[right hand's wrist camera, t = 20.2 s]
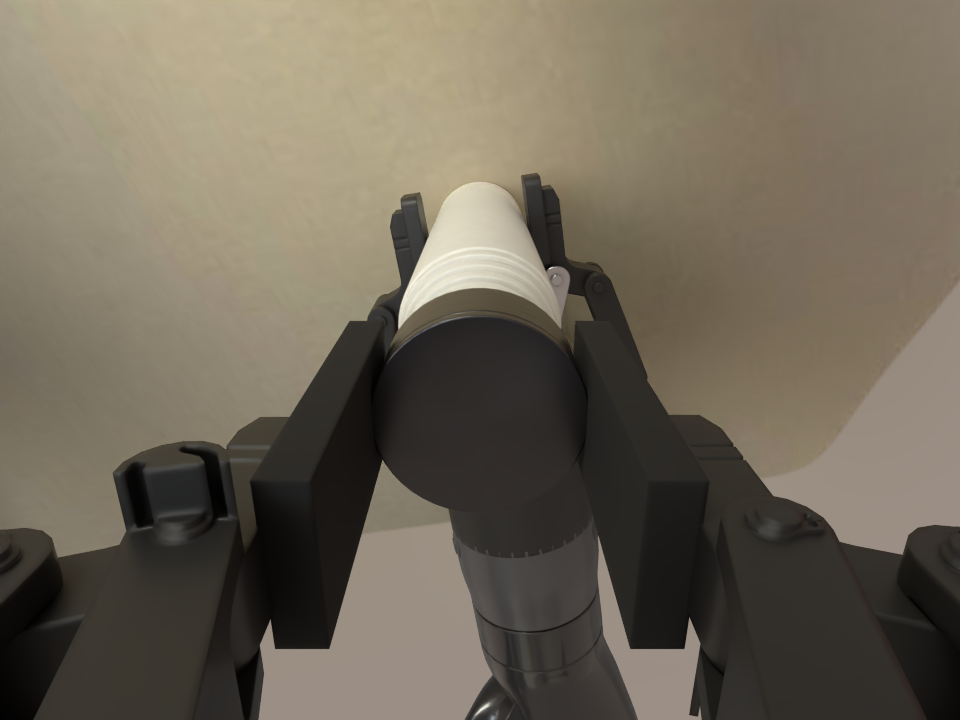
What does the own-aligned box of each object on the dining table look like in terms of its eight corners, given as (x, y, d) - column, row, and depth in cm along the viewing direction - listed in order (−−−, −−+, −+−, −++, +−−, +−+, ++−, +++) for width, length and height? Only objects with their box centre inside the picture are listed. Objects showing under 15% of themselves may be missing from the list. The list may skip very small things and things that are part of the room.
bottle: (437, 266, 35) (372, 499, 14) (437, 180, 33) (362, 295, 12) (520, 268, 35) (582, 503, 14) (524, 182, 33) (601, 300, 12)
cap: (414, 260, 13) (403, 285, 11) (604, 322, 14) (623, 355, 12) (363, 433, 15) (346, 480, 13) (536, 483, 15) (544, 536, 13)
